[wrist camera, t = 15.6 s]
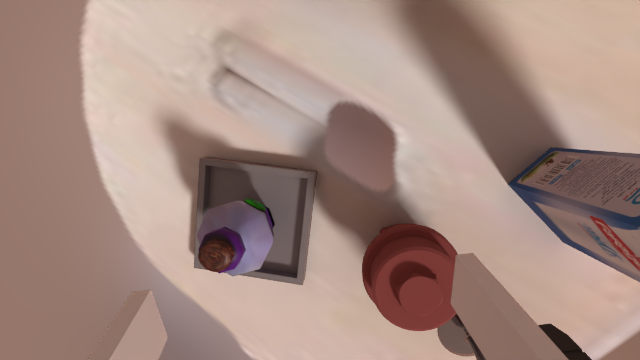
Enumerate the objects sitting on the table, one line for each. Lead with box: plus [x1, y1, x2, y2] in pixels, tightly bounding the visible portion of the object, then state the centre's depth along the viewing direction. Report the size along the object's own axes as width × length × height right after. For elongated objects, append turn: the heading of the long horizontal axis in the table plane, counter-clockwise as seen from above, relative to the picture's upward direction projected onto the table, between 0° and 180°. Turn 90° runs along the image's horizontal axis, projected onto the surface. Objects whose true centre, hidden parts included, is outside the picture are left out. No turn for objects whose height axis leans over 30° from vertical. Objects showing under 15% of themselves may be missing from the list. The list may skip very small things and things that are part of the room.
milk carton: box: [508, 148, 640, 282], centre depth 27 cm, size 10×6×20 cm, turn 45°
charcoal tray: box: [194, 157, 317, 285], centre depth 41 cm, size 15×15×2 cm
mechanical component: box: [362, 224, 458, 331], centre depth 34 cm, size 12×10×10 cm
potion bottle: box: [197, 199, 275, 276], centre depth 35 cm, size 9×9×12 cm
